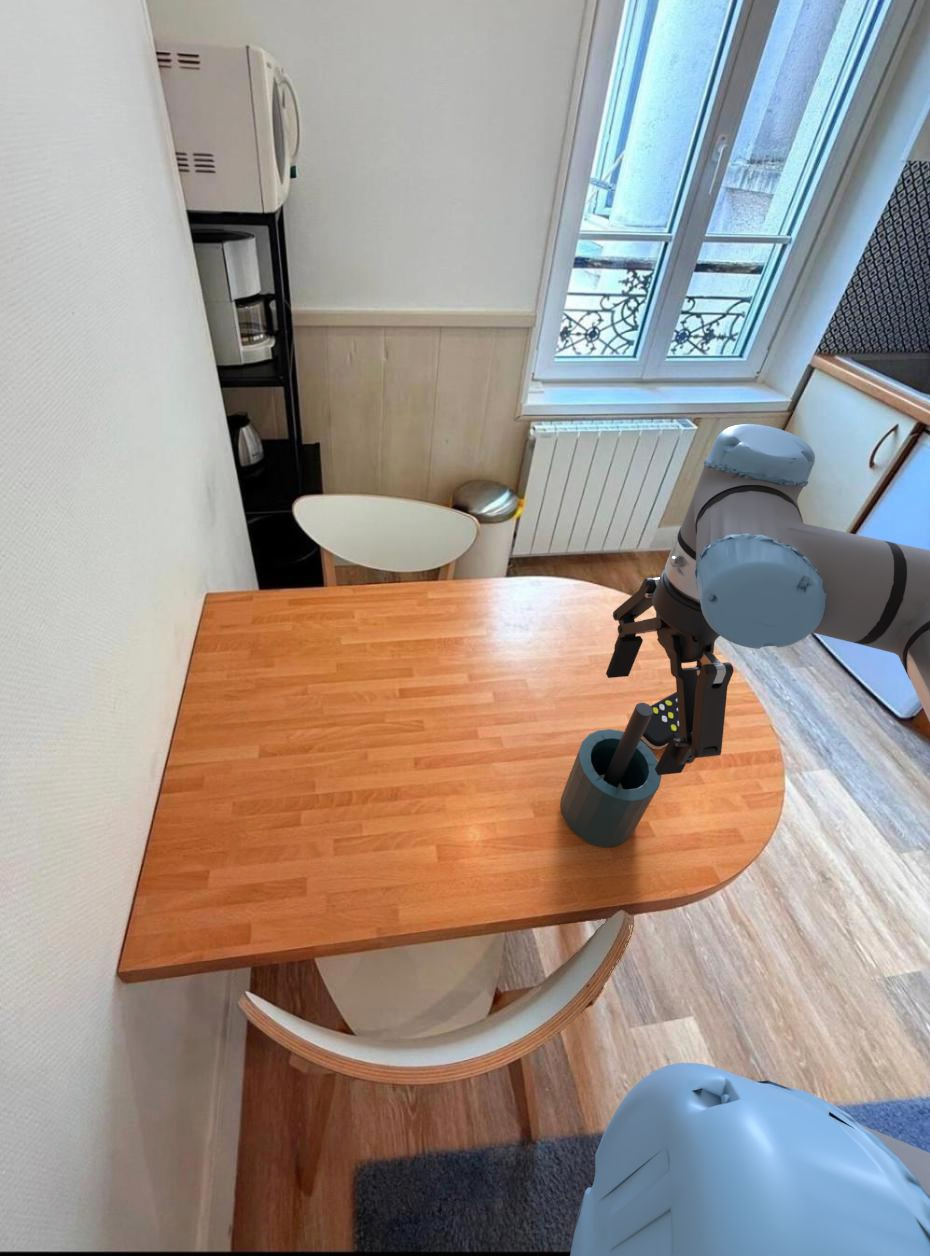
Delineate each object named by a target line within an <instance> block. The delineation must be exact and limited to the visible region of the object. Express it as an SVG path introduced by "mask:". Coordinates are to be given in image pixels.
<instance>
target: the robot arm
mask: <svg viewBox="0 0 930 1256" xmlns="http://www.w3.org/2000/svg"><path fill="white" fill-rule="evenodd" d="M815 459H816V455H815V451H814V450H813V448H812V447H811V446H810V445H809V444H808V443H807V442H806V441H805V440H804V439H802V438H801V437H799V436H797V435H795V434H793V433H791V432H789V431H786V430H783V429H780V428H777V427H773V426H768V425H763V424H756V423H745V424H744V423H742V424H736V425H732V426H729V427H726V428H725V429H724V430H722V431H721V432H720V433H719V434H718V435H717V438H716V439H715V441H714V443H713V446H712V447H711V449H710V452H709V454H708V456H707V457H706V458H705V459H704V460H703V462H702V465H703V468H702V471H701V473H700V475H699V479H698V481H697V484H696V487H695V489H694V492H693V495H692V497H691V499H690V502H689V504H688V507H687V510H686V513H685V514H684V518H683V520H682V523H681V526H680V528H679V530H678V533H677V536H676V538H675V540H674V543H673V546H672V548H671V551H670V552H669V555H668V558H667V561H666V563H665V566H664V569H663V571H662V572H661V574H660V577H645V578H644V579H643V581H642V583H641V585H640V587H639V589H638V590H637V591H636V592H635V593H633V595H631V596H629V598H627V600H625V601H624V602H623V603H622V604H620V605H619V606H618V607H617V608H616V609H614V611H613V612H612V618H613V620H614V621H618V625H617V633H618V635H617V638H616V640H615V643H614V646H613V647H614V649H613V653H612V656H611V658H610V661H609V663H608V666H607V670H606V672H605V675H606V677H607V678H608V679H612V678H613V679H615V678H626V677H629V676H630V673H631V671H632V669H633V666H634V663H635V661H636V660H637V659H636V658H637V656H638V654H639V651H640V649H641V647H642V644H643V642H644V640H643V638H642V636H641V635H642V634H646V633H653V632H656V635H657V638H656V640H657V642H658V644H659V645H660V646H661V647H662V648H663V649H664V652H665V653H666V657H668V659H669V665H670V666H669V667H670V674H671V675H672V677H673V678H675V686H676V692H677V703H678V718H679V733H673V735H672V737H671V739H670V741H669V743H668V745H667V746H665V749H664V750H663V752H662V754H661V756H660V758H659V760H658V764H657V766H656V768H655V771H656V773H657V775H661V776H664V775H665V776H666V775H673V774H681V773H682V772H683V770H684V768H685V766H686V765H687V764H692V763H694V761H695V760H696V759H698V758H709V757H710V758H711V757H717V756H719V757H720V756H721V755H722V750H723V749H722V748H723V738H724V729H725V728H724V726H725V718H726V707H727V697H728V686H729V684H730V681H731V679H732V676H733V674H734V666H733V664H732V663H730V662H721V661H720V660H719V658H717V656H716V655H715V654H714V651H715V644H716V640H717V639H719V637H722V638H723V639H724V640H727V641H729V642H731V643H733V644H735V645H737V646H741V647H745V648H749V649H756V650H757V649H762V648H764V647H766V648H767V647H777V648H785V647H789V646H792V645H795V644H797V643H799V642H801V641H802V640H804V639H806V638H807V637H808V636H809V635H811V634H816V635H820V636H824V637H828V638H832V639H836V640H841V641H845V642H849V643H853V644H857V645H861V646H864V647H869V648H873V649H876V650H880V651H884V652H887V653H892V654H894V655H897V656H898V658H899V660H900V663H901V664H902V666H903V668H904V671H905V673H906V675H907V677H908V679H909V681H910V682H911V685H912V686H913V689H914V691H915V693H916V695H917V697H918V699H919V702H920V704H921V707H922V708H923V710H924V711H923V712H924V713H925V715H926V717H927V720H928V721H929V723H930V549H925V548H921V547H916V546H911V545H905V544H900V543H897V542H893V541H887V540H883V539H878V538H873V537H869V536H864V535H860V534H855V533H850V532H845V531H841V530H836V529H832V528H827V527H823V526H818V525H812V524H809V523H808V524H807V523H804V520H803V515H802V513H801V510H800V507H799V504H798V499H799V496H800V494H801V492H802V491H803V489H804V488H805V487H807V486H808V484H809V481H808V480H809V477H810V475H811V472H812V469H813V468H814V466H815V462H816V460H815ZM652 607H653V609H654V611H655V617H654V616H653V617H652V618H646V619H643V620H638V621H635V620H636V619H637V618H639V617H640V616H641V615H642V614H644V613H645V612H647V611H648V610H649V609H650V608H652ZM640 634H641V635H640ZM695 662H696V665H695V666H694V667H683V664H691V663H695ZM594 1167H595V1168H594V1171H595V1172H594V1173H595V1174H594V1179H593V1182H592V1186H591V1187H587V1189H585V1190H584V1194H583V1196H582V1201H581V1203H580V1206H579V1210H578V1213H577V1218H576V1223H575V1229H574V1232H573V1233H574V1234H573V1237H572V1244H571V1247H570V1248H571V1249H570V1254H569V1256H930V1152H928V1151H926V1150H923V1149H922V1148H919V1147H917V1146H914V1145H912V1144H909V1143H907V1142H905V1141H902V1140H899V1139H897V1138H895V1137H892V1136H890V1135H887V1134H886V1133H885V1134H884V1133H883V1132H880V1131H878V1130H875V1129H872V1128H870V1127H867V1126H865V1125H863V1124H861V1123H860V1122H858V1121H857V1120H856V1119H855V1118H854V1117H852V1116H851V1115H850V1114H849V1113H848V1112H847V1111H844V1110H843V1109H841V1108H839V1107H837V1106H836V1105H834V1104H832V1103H830V1102H828V1101H826V1100H825V1099H823V1098H820V1097H818V1096H816V1095H815V1094H813V1093H810V1092H808V1091H806V1090H804V1089H798V1088H794V1087H787V1086H785V1085H781V1084H779V1083H777V1082H774V1081H771V1080H758V1081H757V1080H753V1079H750V1078H747V1077H744V1076H741V1075H739V1074H736V1073H733V1072H731V1071H727V1070H725V1069H722V1068H718V1067H715V1066H712V1065H710V1064H705V1063H697V1062H678V1063H672V1064H668V1065H665V1066H662V1067H660V1068H658V1069H654V1070H653V1071H652V1072H650V1073H648V1074H647V1075H646V1076H644V1077H642V1078H641V1079H640V1080H639V1081H638V1082H637V1083H636V1084H635V1085H634V1086H633V1087H632V1088H631V1089H630V1090H629V1091H628V1093H626V1095H625V1096H624V1097H623V1099H622V1100H621V1102H620V1103H619V1105H618V1107H617V1108H616V1110H615V1111H614V1113H613V1115H612V1117H611V1119H610V1120H609V1122H608V1124H607V1127H606V1128H605V1130H604V1133H603V1134H602V1137H601V1140H600V1142H599V1144H598V1147H597V1149H596V1152H595V1155H594Z"/></svg>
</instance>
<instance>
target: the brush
mask: <svg viewBox="0 0 930 1256" xmlns="http://www.w3.org/2000/svg"><path fill="white" fill-rule="evenodd" d="M652 715H653V709H652V707H651V705H649V704H648V703H646V702H638V703H636V705H635V707H634V708H633V711H632V713H631V716H630V717H629V719H628V722H627V724H626V727H625V729H624V731H623V732H624V733H623V736H622V738H621V740H620V742H619V745H618V747H617V749H616V751H615V754H614V756H613V758H612V760H611V763H610V765H609V767H608V769H607V772H606V774H605V775H599V776H600V778H602V779H603V780H604V781H605V782H607V783H608V784H610V785H612V786H614V787H616V788H620V789H623V788H622V785H621V784H620V781H621V779H622V777H623V775H624V773H625V771H626V769H627V767H628V765H629V763H630V760H631V758H632V756H633V754H634V752H635V750H636V748H637V746H638V744H639V742H640V741H642V739H641V737H642V735H643V733H644V731H645V729H646V727H647V725H648V723H649V721H650V719H651V717H652Z"/></svg>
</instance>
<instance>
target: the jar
mask: <svg viewBox="0 0 930 1256" xmlns="http://www.w3.org/2000/svg"><path fill="white" fill-rule="evenodd" d="M623 733H624V731H623V730H618V729H613V728H608V729H607V728H606V729H598V730H595V731H593V732H591V733H589V734H588V735H587V736H586V737H585V738H584V739H583V740H582V741H581V744H580V746H579V749H578V752H577V754H576V757H575V760H574V762H573V764H572V768H571V770H570V773H569V775H568V778H567V780H566V783H565V786H564V789H563V792H562V794H561V797H560V809H561V814H562V817H563V819H564V821H565V823H566V825H567V826H568V828H569V829H570V831H572V833H573V834H575V835H576V836H577V837H578V838H580V839H581V840H582V841H584V842H586V843H588V844H589V845H591V846H595V847H599V848H605V849H607V848H615V847H619V846H621V845H623V844H625V843H626V842H627V841H628V840H629V839H630V838H631V837H632V835H633V833H635V831H636V829H637V827H638V826H639V824H640V822H641V820H642V818H643V816H644V815H645V813H646V811H647V810H648V807H649V806H650V805H651V802H652V801H653V798H654V797H655V795H656V793H657V791H658V789H660V785H661V781H662V775H657V773H656V771H655V768H656V766H657V764H658V762H659V760H658V759H657V757H656V754H655V753H654V752H653V751H652V749H651V748H650V747H649V746H648V745H647V744H646V743H645V742H644V741H643V740H640V742H639V744H638V746H637V748H636V750H635V752H634V754H633V756H632V758H631V760H630V763H629V765H628V767H627V769H626V771H625V773H624V775H623V777H622V779H621V781H620V784H621V785H622V788H623V789H620V788H616V787H614V786H612V785H610V784H608V783H607V782H605V781H604V780H603V779H602V778H600V776H599V775H605V774H606V772H607V769H608V767H609V765H610V763H611V760H612V758H613V756H614V754H615V751H616V749H617V747H618V745H619V742H620V740H621V738H622V736H623Z"/></svg>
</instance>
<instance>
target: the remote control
mask: <svg viewBox="0 0 930 1256" xmlns="http://www.w3.org/2000/svg"><path fill="white" fill-rule="evenodd" d="M650 706H651V707H652V709H653V715H652V717H651V719H650V721H649V723H648V725H647V727H646V729H645V731H644V733H643V735H642V737H641V741H642V742H643V743H645V744H646V745H647V746H648V748H649V749H651V750H652V749H653V750H661V749H663V748H666V747H667V745H668V743H669V741H670V739H671V737H672V735H673V733H679V718H678V703H677V691H675V692H674V693H671V694H669V695H668V696H666V697H665V698H662V699H660V700H659V701H657V702H655V703H653V704H651V705H650Z"/></svg>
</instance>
